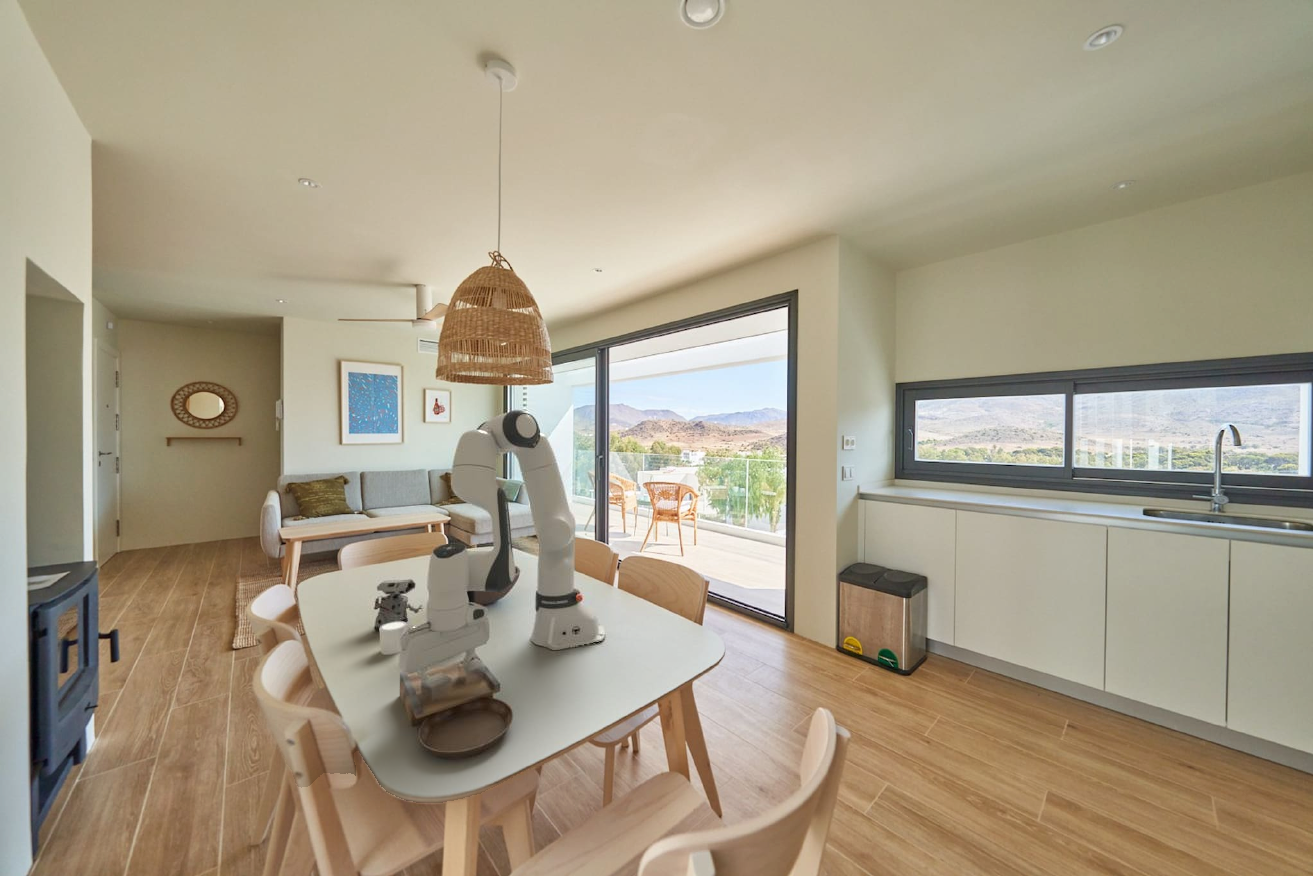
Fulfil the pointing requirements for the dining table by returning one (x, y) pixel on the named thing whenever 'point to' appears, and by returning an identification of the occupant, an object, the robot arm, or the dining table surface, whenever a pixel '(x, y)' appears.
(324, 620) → the dining table surface
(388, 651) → the white cylinder
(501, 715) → the plant saucer
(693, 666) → the dining table surface
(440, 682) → the off-white small block
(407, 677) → the brown and grey tray
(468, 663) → the silver block
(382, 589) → the figurine
